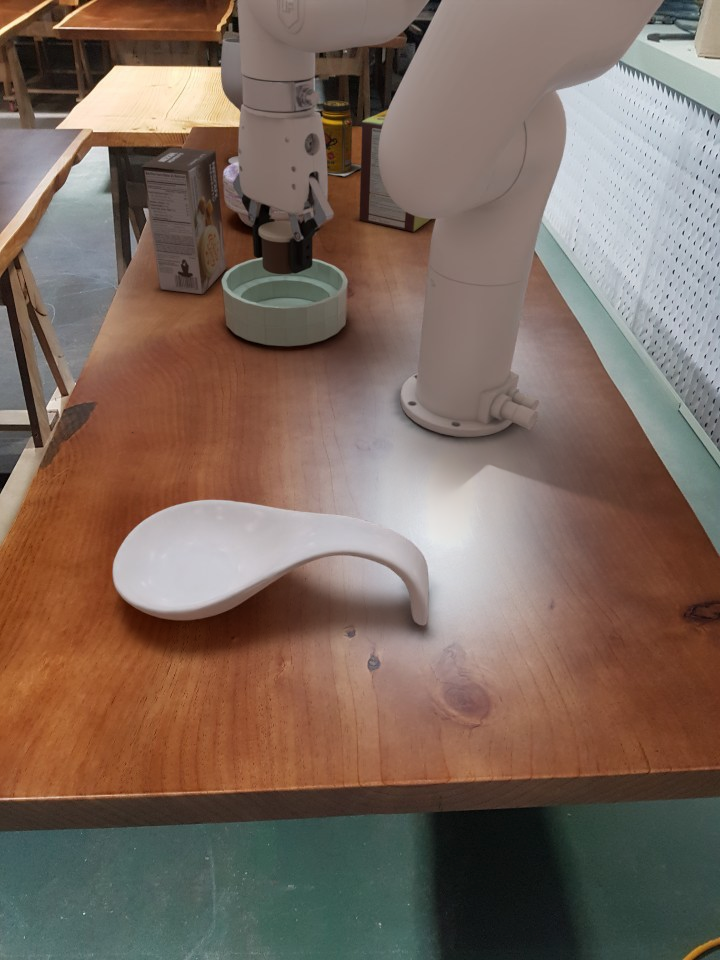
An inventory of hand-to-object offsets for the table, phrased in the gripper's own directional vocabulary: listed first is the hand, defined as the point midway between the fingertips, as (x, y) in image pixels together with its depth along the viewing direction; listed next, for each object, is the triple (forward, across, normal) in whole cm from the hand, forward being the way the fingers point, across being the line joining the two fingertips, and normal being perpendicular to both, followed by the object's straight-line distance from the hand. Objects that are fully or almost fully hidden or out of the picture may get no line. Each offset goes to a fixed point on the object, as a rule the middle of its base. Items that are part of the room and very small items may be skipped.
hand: (282, 260), depth 86 cm
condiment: (+9, +39, -54) cm, 67 cm away
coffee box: (+8, +18, 0) cm, 19 cm away
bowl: (+8, 0, 0) cm, 8 cm away
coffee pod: (+1, 0, 0) cm, 1 cm away
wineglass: (+9, +55, -44) cm, 71 cm away
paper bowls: (+8, +27, -24) cm, 37 cm away
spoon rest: (+8, -32, +33) cm, 46 cm away
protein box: (+8, +14, -43) cm, 46 cm away
